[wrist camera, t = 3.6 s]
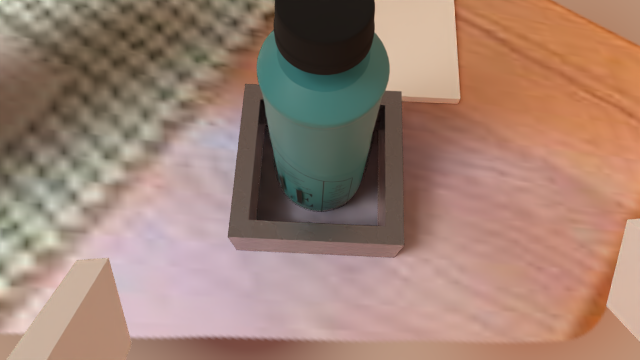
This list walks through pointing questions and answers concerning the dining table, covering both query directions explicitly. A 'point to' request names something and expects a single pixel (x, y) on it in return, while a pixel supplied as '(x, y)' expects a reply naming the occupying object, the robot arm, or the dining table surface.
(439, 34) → the coaster pad
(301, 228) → the bottle holder
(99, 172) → the dining table surface
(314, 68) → the beverage bottle
